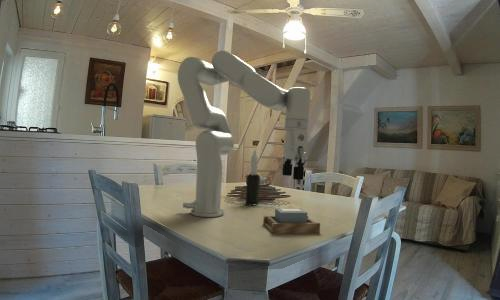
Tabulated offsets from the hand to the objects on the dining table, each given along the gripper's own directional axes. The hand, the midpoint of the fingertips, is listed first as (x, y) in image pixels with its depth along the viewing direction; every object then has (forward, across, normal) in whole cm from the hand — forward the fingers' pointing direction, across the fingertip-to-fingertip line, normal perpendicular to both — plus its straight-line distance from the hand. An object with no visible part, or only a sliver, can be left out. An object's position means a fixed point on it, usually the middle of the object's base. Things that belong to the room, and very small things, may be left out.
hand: (292, 177), depth 98 cm
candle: (+18, +38, +3) cm, 43 cm away
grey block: (+16, 0, 0) cm, 16 cm away
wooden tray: (+17, 0, -1) cm, 17 cm away
